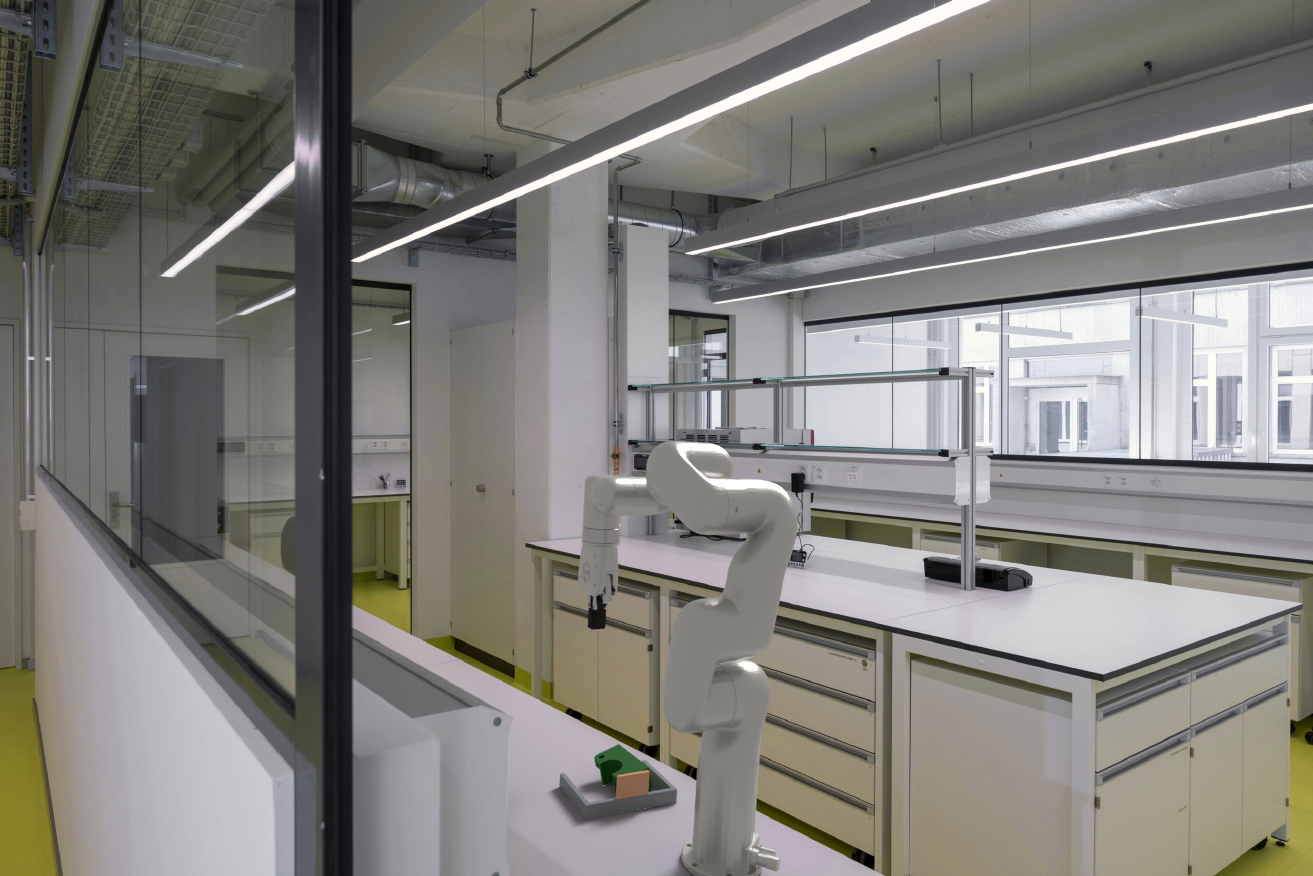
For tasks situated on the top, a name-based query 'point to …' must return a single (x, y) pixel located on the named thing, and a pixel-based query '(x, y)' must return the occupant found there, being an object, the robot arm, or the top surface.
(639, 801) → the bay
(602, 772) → the clamp
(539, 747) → the top surface
